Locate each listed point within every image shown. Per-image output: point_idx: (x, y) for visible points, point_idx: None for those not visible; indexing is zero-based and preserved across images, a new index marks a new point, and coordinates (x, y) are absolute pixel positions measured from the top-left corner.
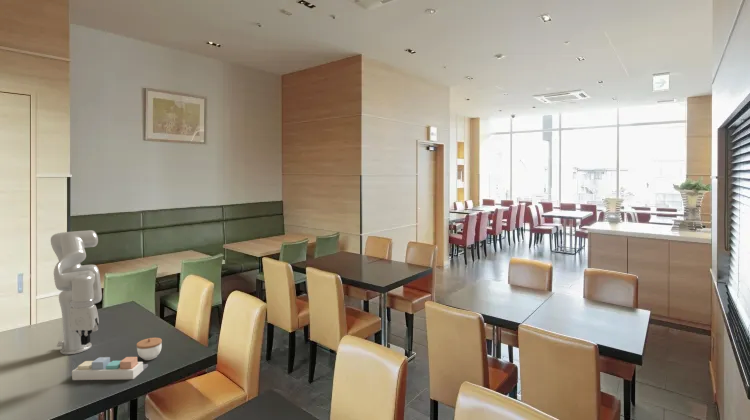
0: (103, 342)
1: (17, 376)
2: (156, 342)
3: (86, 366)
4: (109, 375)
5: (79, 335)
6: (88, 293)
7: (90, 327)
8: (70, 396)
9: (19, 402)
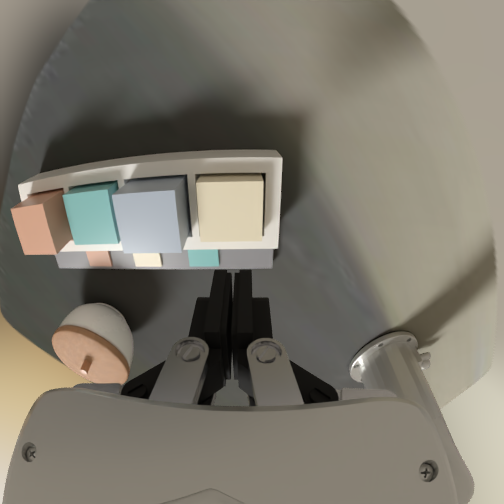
0: None
1: (471, 206)
2: (60, 352)
3: (211, 181)
4: (101, 163)
5: (277, 345)
6: None
7: (37, 417)
8: (180, 20)
9: (363, 2)
